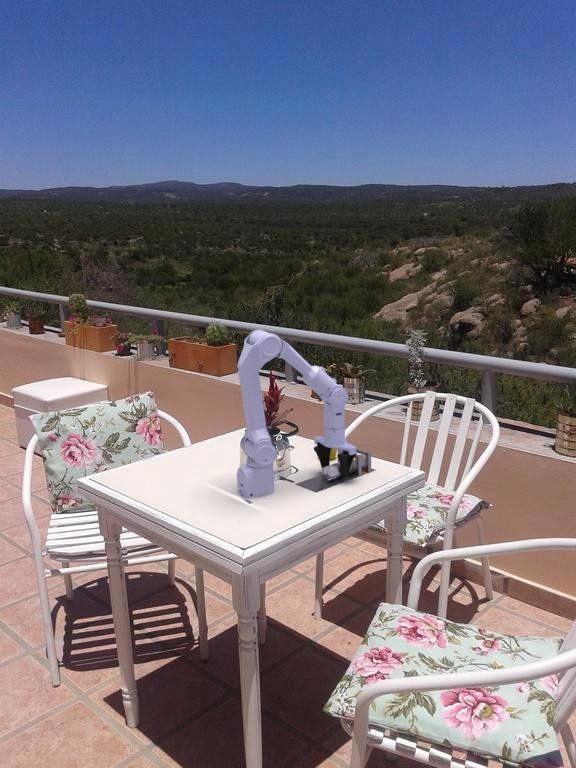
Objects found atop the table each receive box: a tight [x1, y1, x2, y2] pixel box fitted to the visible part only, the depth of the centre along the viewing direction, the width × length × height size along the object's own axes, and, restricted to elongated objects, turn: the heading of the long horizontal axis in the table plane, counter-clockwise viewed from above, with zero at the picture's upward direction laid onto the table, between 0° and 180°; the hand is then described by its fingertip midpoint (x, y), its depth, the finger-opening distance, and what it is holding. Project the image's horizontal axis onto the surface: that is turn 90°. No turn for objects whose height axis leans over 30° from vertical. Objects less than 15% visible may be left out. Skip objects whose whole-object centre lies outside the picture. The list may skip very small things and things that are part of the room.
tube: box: [320, 454, 365, 481], centre depth 186 cm, size 15×4×4 cm, turn 131°
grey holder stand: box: [294, 447, 376, 493], centre depth 184 cm, size 24×9×7 cm, turn 131°
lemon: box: [330, 448, 338, 461], centre depth 199 cm, size 6×6×8 cm
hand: (335, 473), depth 184 cm, fingers open, 7 cm apart
